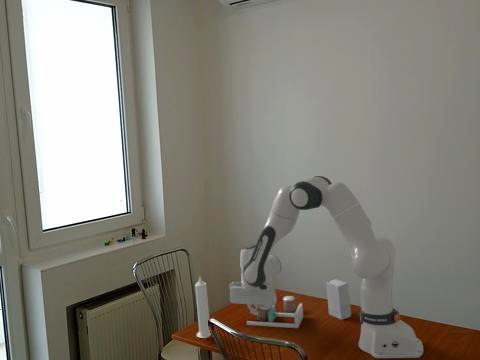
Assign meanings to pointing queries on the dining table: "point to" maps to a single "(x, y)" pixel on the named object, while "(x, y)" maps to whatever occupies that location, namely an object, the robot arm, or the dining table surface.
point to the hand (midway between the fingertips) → (253, 313)
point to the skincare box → (338, 299)
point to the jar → (289, 304)
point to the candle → (202, 309)
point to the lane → (297, 316)
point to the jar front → (263, 312)
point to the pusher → (272, 313)
